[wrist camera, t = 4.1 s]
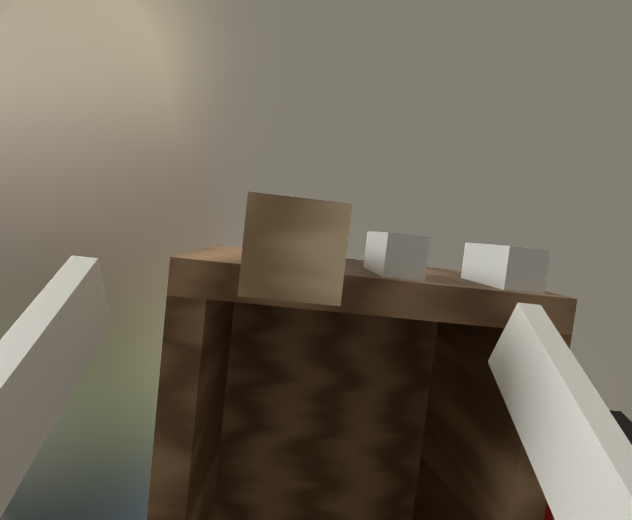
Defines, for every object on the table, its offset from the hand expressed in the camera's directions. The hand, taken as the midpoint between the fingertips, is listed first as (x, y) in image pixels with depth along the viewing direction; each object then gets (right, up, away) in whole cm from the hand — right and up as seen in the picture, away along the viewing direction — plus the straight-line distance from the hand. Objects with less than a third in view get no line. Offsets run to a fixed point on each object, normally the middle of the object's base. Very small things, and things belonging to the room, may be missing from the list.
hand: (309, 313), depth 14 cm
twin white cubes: (+8, +1, +13) cm, 16 cm away
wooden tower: (0, -28, +19) cm, 34 cm away
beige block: (-2, +1, +11) cm, 11 cm away
